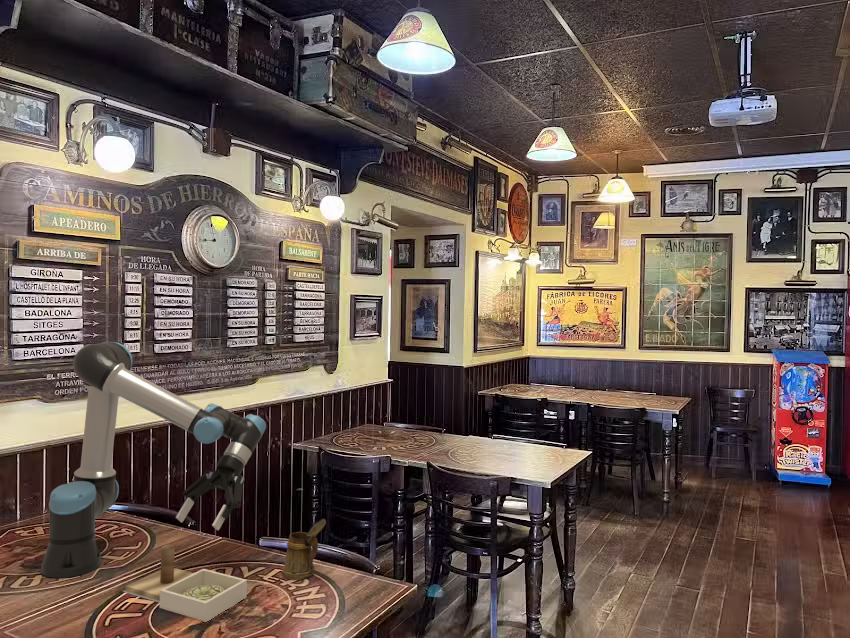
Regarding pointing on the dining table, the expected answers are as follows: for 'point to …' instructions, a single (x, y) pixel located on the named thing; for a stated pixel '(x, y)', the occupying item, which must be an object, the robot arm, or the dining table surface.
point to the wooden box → (198, 608)
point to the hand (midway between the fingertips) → (196, 524)
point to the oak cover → (159, 576)
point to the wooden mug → (302, 553)
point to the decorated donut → (204, 592)
